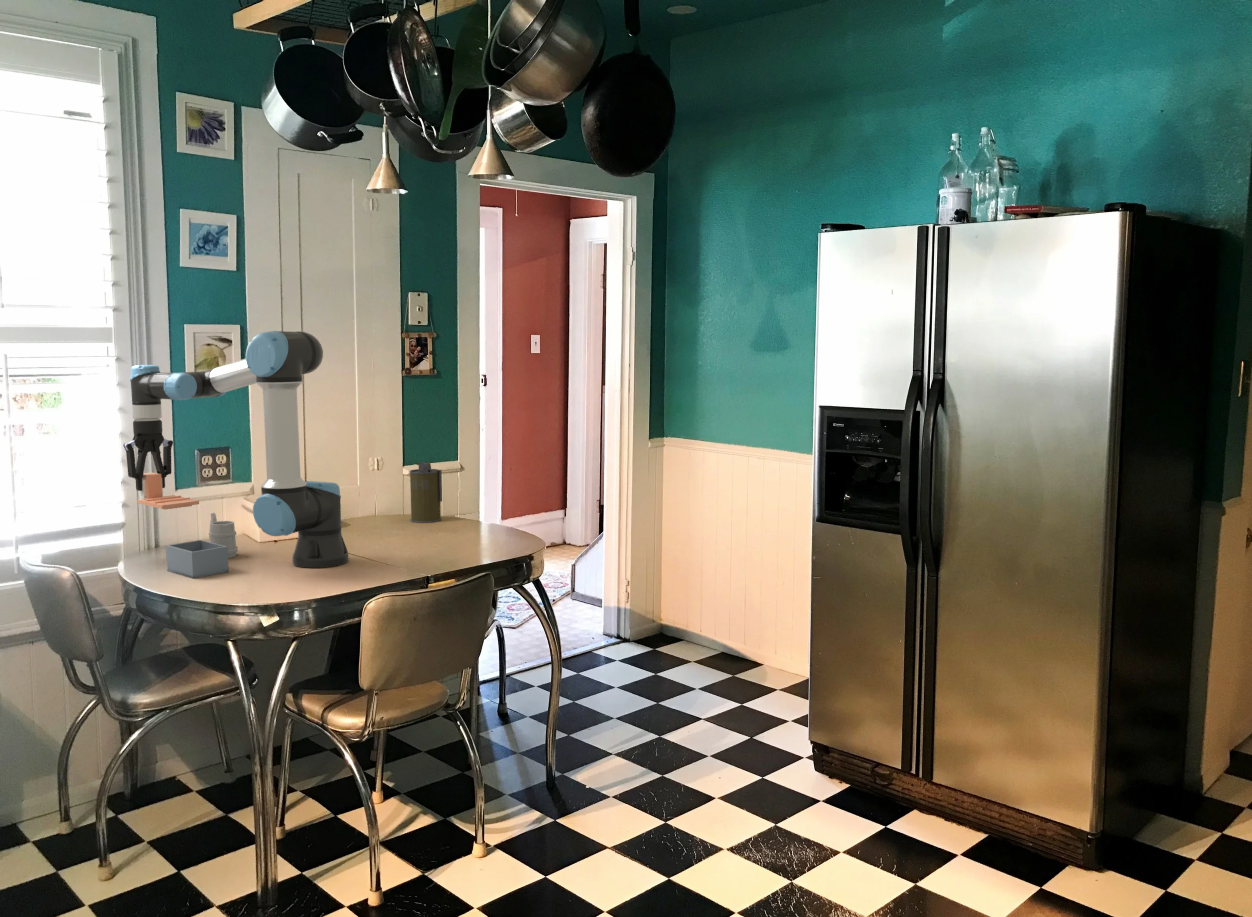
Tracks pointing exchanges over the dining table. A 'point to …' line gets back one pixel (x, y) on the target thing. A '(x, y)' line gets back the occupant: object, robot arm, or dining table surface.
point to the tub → (197, 558)
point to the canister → (425, 493)
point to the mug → (223, 534)
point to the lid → (156, 497)
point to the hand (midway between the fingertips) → (151, 500)
